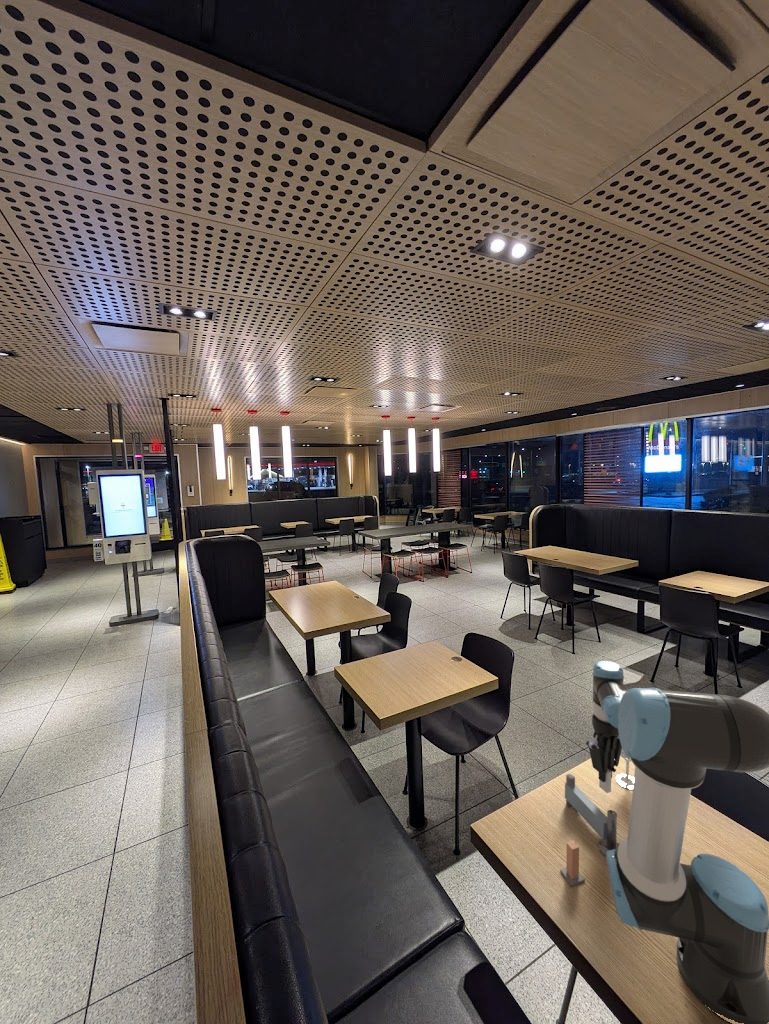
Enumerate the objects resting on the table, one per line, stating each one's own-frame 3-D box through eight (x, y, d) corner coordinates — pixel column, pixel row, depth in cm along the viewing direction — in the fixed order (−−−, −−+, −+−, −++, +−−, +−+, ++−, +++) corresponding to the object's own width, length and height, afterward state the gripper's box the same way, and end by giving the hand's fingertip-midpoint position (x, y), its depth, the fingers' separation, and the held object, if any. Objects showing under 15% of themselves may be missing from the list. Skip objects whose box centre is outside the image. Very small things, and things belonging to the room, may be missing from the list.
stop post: (584, 881, 104) (585, 849, 103) (571, 886, 103) (571, 854, 101) (573, 866, 108) (573, 835, 106) (560, 871, 106) (560, 840, 105)
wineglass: (606, 778, 136) (608, 727, 133) (623, 769, 139) (625, 719, 137) (630, 795, 128) (632, 742, 126) (647, 786, 132) (649, 733, 130)
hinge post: (629, 857, 109) (630, 819, 108) (611, 864, 108) (612, 826, 106) (611, 837, 115) (612, 801, 114) (593, 843, 113) (594, 807, 112)
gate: (610, 843, 113) (611, 813, 112) (603, 845, 112) (603, 815, 111) (570, 800, 128) (571, 773, 126) (564, 802, 127) (564, 775, 126)
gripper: (612, 702, 125) (610, 773, 128) (579, 714, 120) (577, 787, 124) (635, 716, 118) (632, 791, 121) (600, 729, 113) (599, 806, 117)
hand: (605, 789), depth 122 cm, fingers closed
